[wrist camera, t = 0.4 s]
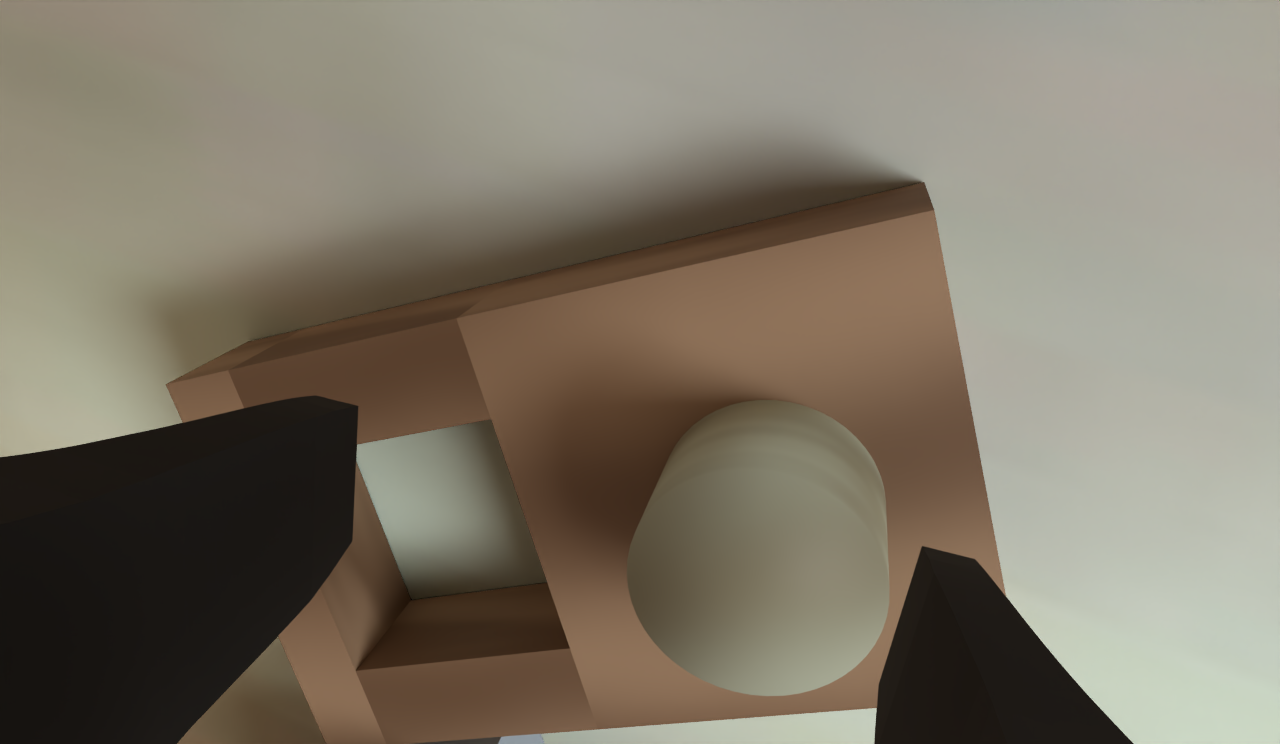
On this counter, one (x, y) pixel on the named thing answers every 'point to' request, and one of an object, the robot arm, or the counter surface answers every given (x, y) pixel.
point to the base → (651, 479)
